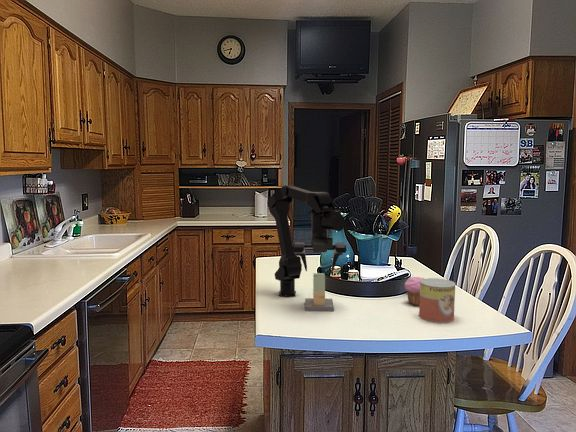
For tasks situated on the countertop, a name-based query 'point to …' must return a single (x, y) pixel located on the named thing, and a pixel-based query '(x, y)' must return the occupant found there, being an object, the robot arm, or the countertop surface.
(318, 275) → the sage brick
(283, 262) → the robot arm
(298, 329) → the countertop surface
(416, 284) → the cupcake
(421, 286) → the canned food
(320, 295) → the oak brick
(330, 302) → the grey baseplate
